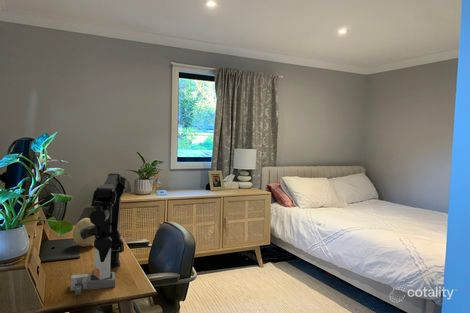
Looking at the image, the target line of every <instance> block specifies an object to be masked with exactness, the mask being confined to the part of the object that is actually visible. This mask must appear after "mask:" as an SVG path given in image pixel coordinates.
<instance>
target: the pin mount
mask: <svg viewBox="0 0 470 313" xmlns="http://www.w3.org/2000/svg"><path fill="white" fill-rule="evenodd" d="M88 274H89V273H82V274H71V276H70V287H69V288H70V291H71V292H72V291H75V288H76V283H77V280H83V284H82V290H87V283H88Z"/></svg>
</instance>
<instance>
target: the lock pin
mask: <svg viewBox="0 0 470 313" xmlns="http://www.w3.org/2000/svg"><path fill="white" fill-rule="evenodd" d="M82 290H83V280H76V288H75V290H74V296H80V295H81V296H82Z"/></svg>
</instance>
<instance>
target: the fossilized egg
mask: <svg viewBox="0 0 470 313" xmlns="http://www.w3.org/2000/svg"><path fill="white" fill-rule="evenodd" d="M92 225H94V224H92V223H91V221H90V217H84V218H82V219H80V220H79V221H77V223H76V224H75V226H74V228H73V230H72V238H73V241H74V242H75V244H77V245H78V246H80V247H84V248H86V247H90V246H92V245H94V239H95V237H94V235H93V236H90V237H88V238H86V239H84V240H82V237H81V235H80V230H81V229H83V228H86V227H89V226H92Z"/></svg>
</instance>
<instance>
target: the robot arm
mask: <svg viewBox="0 0 470 313" xmlns="http://www.w3.org/2000/svg"><path fill="white" fill-rule="evenodd" d="M127 186H128V182H127V178H125V177H124V176H122V174H120V173H118V172H117V173H115V172H113V173H111V172H110V173H108V175H107V177H106V180H105V181H104V183H103V185H102V184H101V185H98V186H97V187H96V188H95V190H94V191H93V196H92V199H91V204H90V206H91V207H94V208H95V209H94V210H93V211H92V212H90V215H89V218H90V221H91V223H92V224H94V225H92V226H89V227H86V228H83V229H81V230H80V235H81V237H82V240H84V239H86V238H88V237H90V236H93V235H94V237H95V239H94V243H93V247H94V249H95V248H96V249H97V250H98V251H99V256H100V261H101V262H104V260H105V258H106V256H107V254H108V252H109V250H110V248H111V263H110V268H113V267H121V261H120V254H121V253H123V252H125V243H124V241H123V240H124V239H122V234H121V232H120V230H119V229H120V227H119V225H120V215H121V214H120V213H121V205H122V204H121V202H122V197H123V196H124V195H125V193H126V190H127Z"/></svg>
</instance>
